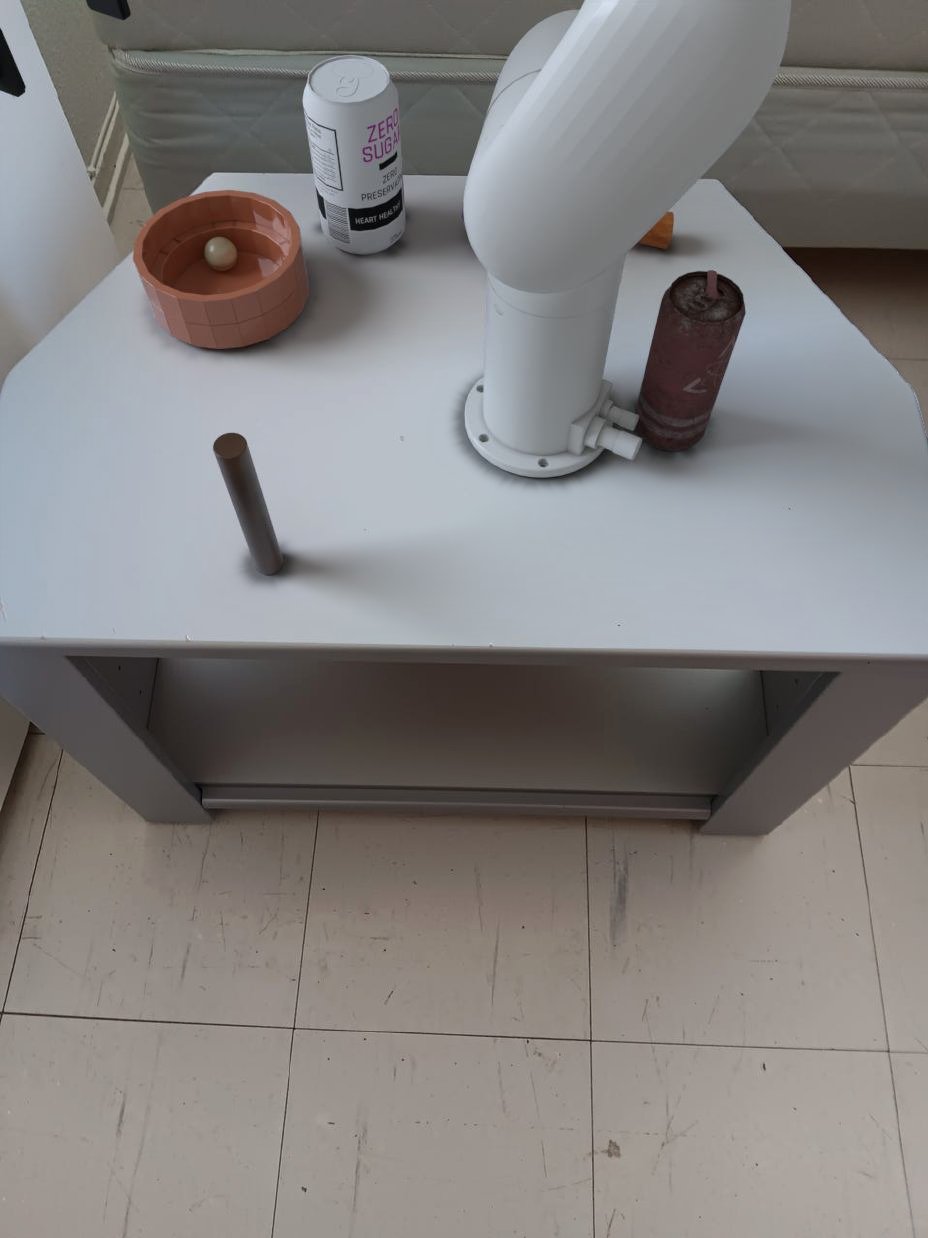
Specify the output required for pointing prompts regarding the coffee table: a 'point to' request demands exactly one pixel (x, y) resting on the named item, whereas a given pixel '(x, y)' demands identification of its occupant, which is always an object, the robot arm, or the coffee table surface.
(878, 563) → the coffee table surface
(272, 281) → the bowl
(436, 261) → the coffee table surface
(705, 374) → the can
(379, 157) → the supplement can
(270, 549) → the stick
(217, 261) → the bead
